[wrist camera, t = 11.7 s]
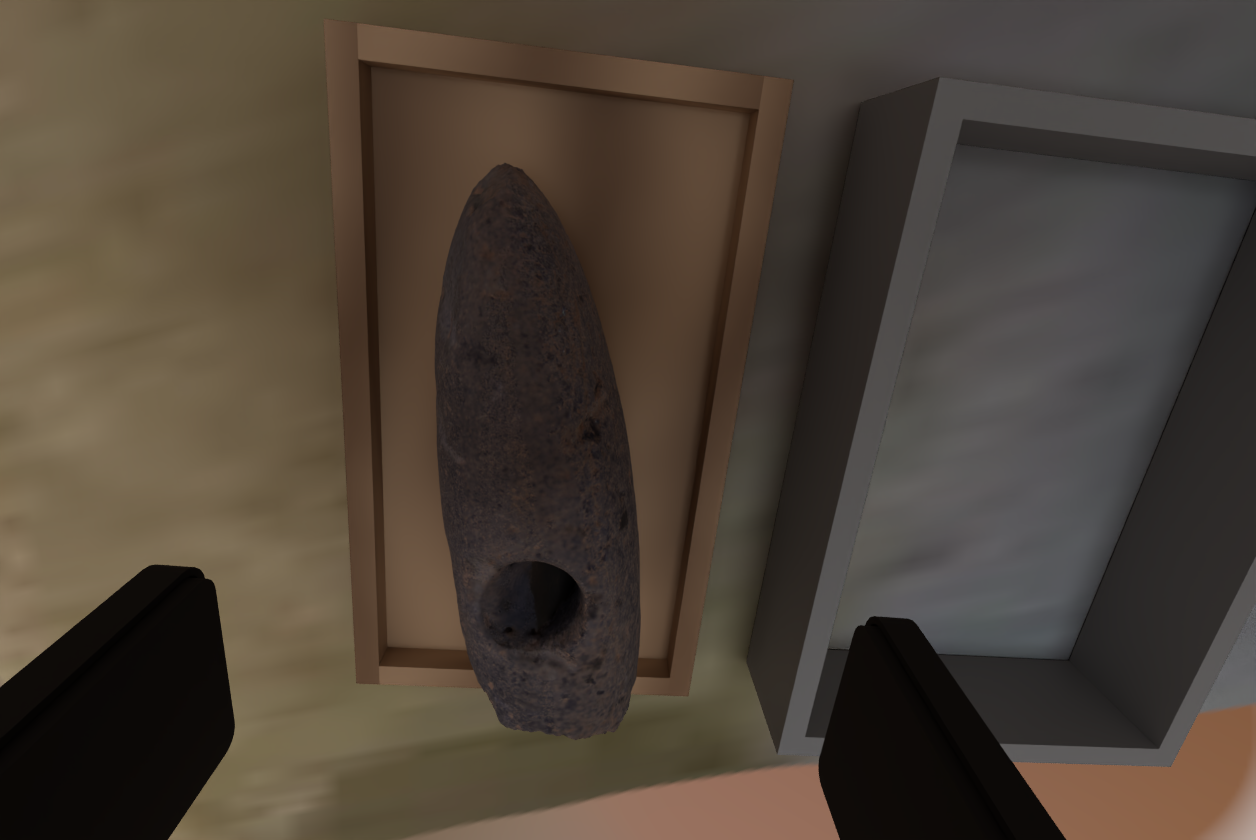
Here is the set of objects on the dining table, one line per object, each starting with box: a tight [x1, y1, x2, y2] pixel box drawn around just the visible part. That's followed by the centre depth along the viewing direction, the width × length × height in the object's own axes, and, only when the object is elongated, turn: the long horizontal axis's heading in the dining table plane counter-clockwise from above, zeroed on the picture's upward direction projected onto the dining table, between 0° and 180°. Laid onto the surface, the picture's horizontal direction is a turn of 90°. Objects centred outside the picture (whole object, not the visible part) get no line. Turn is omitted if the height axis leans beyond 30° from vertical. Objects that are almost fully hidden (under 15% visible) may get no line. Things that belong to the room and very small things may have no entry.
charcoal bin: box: [747, 77, 1256, 767], centre depth 21 cm, size 15×21×4 cm
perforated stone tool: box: [434, 163, 641, 740], centre depth 17 cm, size 15×5×7 cm, turn 3°
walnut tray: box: [324, 19, 794, 696], centre depth 21 cm, size 12×21×2 cm, turn 174°
